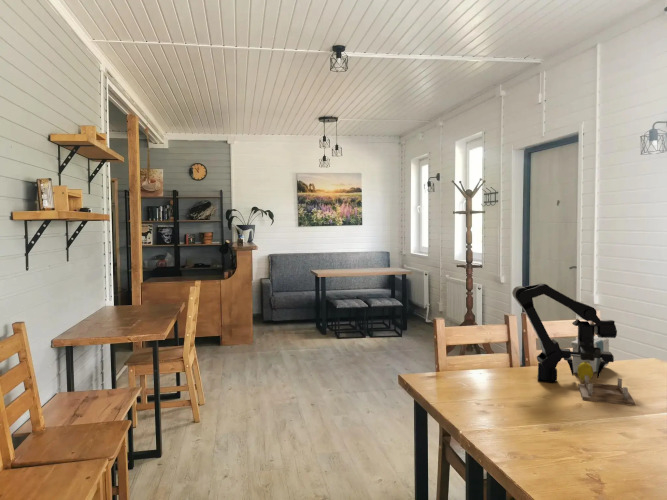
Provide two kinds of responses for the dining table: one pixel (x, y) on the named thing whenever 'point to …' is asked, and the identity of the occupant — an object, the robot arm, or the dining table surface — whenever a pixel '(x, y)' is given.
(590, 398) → the cradle tray
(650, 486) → the dining table surface
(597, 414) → the dining table surface
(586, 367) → the lemon
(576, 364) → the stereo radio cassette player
